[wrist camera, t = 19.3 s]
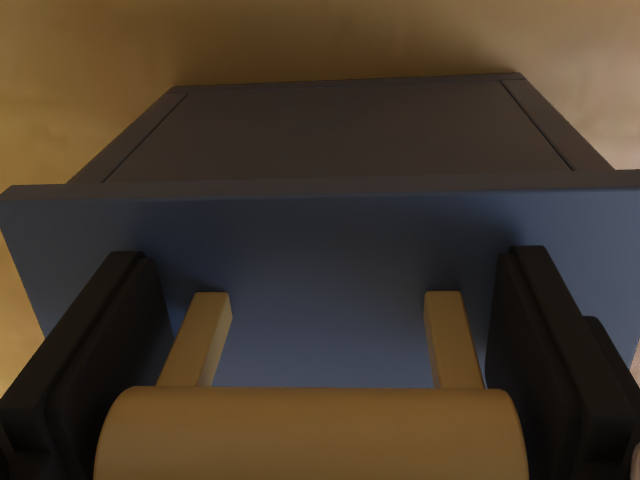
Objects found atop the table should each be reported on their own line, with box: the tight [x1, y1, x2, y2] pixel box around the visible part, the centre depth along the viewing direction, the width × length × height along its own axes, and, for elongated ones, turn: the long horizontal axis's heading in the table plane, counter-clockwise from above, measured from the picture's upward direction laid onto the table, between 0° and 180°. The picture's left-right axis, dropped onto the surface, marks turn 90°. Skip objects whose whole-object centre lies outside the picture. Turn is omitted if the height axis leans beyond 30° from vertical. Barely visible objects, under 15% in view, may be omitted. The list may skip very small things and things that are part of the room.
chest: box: [66, 73, 615, 184], centre depth 19 cm, size 16×12×10 cm
